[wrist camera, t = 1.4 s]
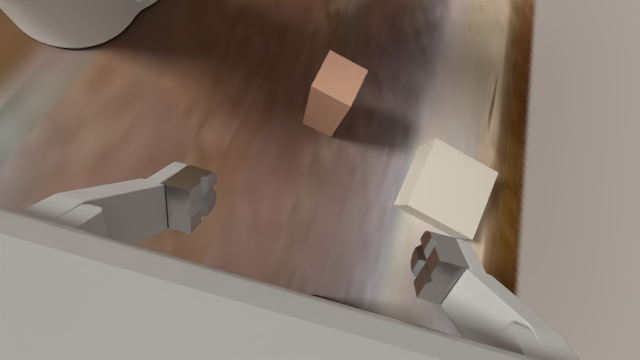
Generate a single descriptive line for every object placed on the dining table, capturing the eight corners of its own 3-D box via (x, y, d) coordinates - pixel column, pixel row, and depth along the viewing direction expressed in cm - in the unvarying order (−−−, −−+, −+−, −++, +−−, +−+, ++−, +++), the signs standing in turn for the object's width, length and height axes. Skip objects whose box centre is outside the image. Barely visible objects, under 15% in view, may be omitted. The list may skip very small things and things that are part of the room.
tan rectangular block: (302, 123, 33) (311, 85, 24) (315, 96, 34) (329, 50, 24) (330, 137, 34) (350, 106, 24) (343, 111, 34) (368, 70, 24)
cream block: (392, 205, 34) (407, 204, 30) (419, 146, 36) (436, 137, 32) (451, 236, 35) (472, 239, 31) (474, 176, 36) (498, 172, 32)
